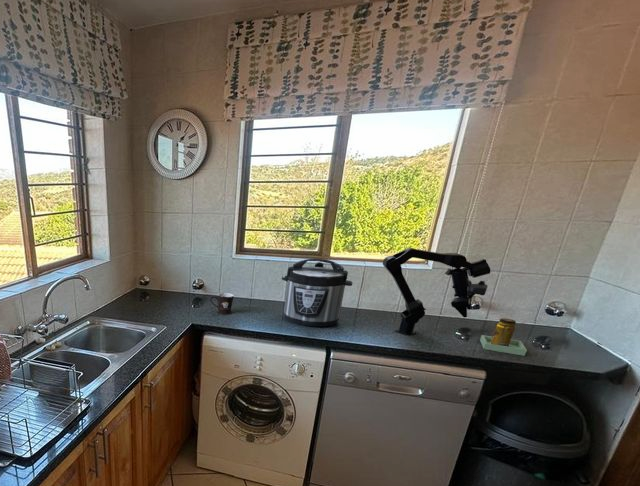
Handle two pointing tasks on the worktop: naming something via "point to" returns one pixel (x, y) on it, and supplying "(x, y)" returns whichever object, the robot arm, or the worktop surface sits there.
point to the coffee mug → (224, 302)
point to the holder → (517, 345)
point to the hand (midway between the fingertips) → (467, 313)
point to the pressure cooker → (315, 293)
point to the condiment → (503, 332)
